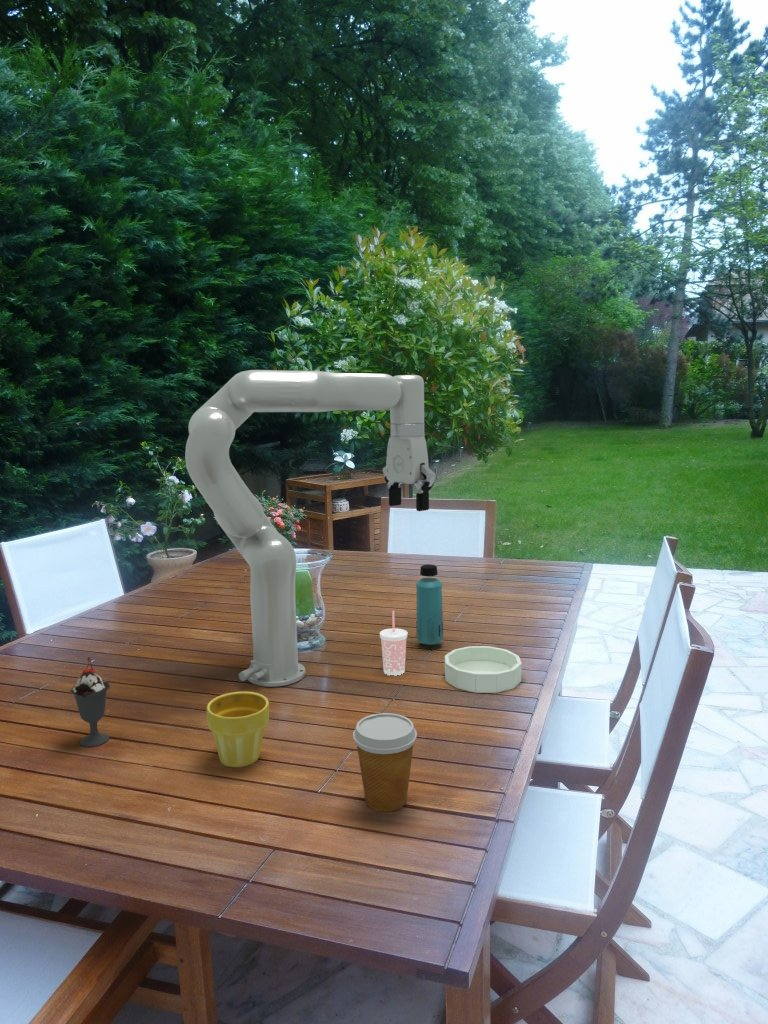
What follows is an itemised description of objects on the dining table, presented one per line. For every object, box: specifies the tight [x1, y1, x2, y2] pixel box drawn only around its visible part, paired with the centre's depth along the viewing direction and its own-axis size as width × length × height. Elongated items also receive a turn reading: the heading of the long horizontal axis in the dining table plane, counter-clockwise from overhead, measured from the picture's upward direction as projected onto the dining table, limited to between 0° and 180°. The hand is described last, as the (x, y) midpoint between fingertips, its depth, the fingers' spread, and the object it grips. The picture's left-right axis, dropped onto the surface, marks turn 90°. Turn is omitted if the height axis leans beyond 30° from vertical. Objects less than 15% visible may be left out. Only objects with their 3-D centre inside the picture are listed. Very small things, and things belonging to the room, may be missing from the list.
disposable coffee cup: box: [352, 712, 418, 813], centre depth 107 cm, size 10×10×12 cm
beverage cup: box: [379, 610, 409, 677], centre depth 155 cm, size 6×6×14 cm
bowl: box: [444, 645, 523, 694], centre depth 153 cm, size 16×16×4 cm
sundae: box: [69, 656, 111, 748], centre depth 126 cm, size 7×7×15 cm
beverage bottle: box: [415, 564, 444, 645], centre depth 170 cm, size 6×7×20 cm
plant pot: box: [206, 691, 270, 768], centre depth 120 cm, size 10×10×10 cm
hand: (408, 507), depth 160 cm, fingers open, 9 cm apart
